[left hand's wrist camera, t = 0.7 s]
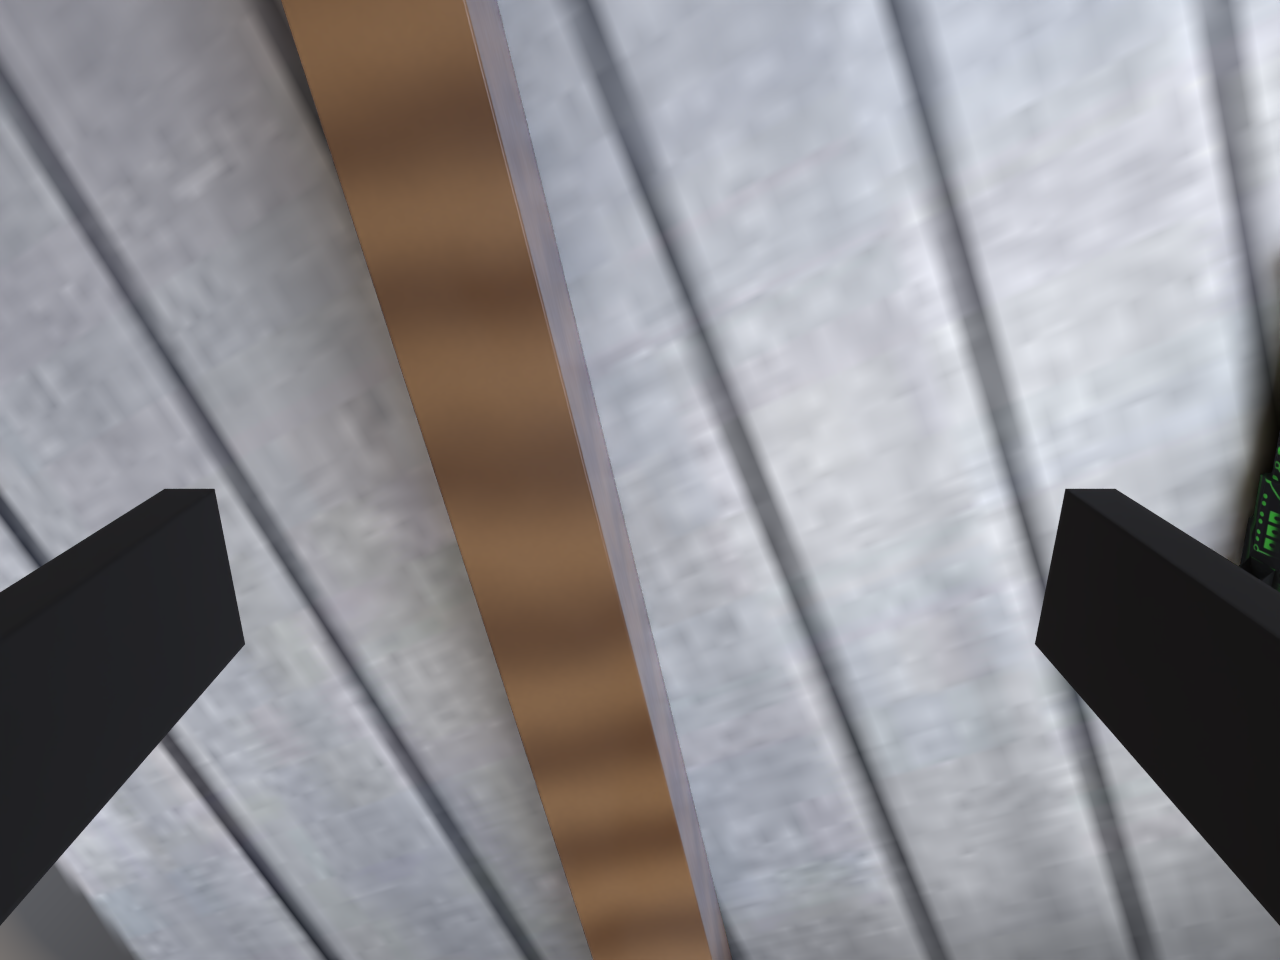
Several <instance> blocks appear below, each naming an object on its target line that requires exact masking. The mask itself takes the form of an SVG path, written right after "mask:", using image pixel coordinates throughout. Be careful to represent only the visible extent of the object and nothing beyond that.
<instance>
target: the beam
mask: <svg viewBox="0 0 1280 960" xmlns="http://www.w3.org/2000/svg"><path fill="white" fill-rule="evenodd" d="M281 2H282V5H283V8H284V11H285V14H286V17H287V20H288V23H289V27H290V30H291V33H292V36H293V39H294V42H295V45H296V48H297V51H298V54H299V57H300V60H301V63H302V67H303V70H304V73H305V76H306V79H307V82H308V85H309V88H310V91H311V94H312V97H313V100H314V103H315V106H316V110H317V113H318V116H319V119H320V122H321V125H322V128H323V131H324V134H325V137H326V140H327V143H328V146H329V149H330V153H331V156H332V159H333V162H334V165H335V168H336V171H337V174H338V177H339V180H340V183H341V186H342V189H343V193H344V196H345V199H346V202H347V205H348V208H349V211H350V214H351V217H352V220H353V223H354V226H355V229H356V232H357V236H358V239H359V242H360V245H361V248H362V251H363V254H364V257H365V260H366V263H367V266H368V269H369V272H370V275H371V279H372V282H373V285H374V288H375V291H376V294H377V297H378V300H379V303H380V306H381V309H382V312H383V315H384V319H385V322H386V325H387V328H388V331H389V334H390V337H391V340H392V343H393V346H394V349H395V352H396V355H397V358H398V362H399V365H400V368H401V371H402V374H403V377H404V380H405V383H406V386H407V389H408V392H409V395H410V398H411V401H412V405H413V408H414V411H415V414H416V417H417V420H418V423H419V426H420V429H421V432H422V435H423V438H424V441H425V444H426V448H427V451H428V454H429V457H430V460H431V463H432V466H433V469H434V472H435V475H436V478H437V481H438V484H439V488H440V491H441V494H442V497H443V500H444V503H445V506H446V509H447V512H448V515H449V518H450V521H451V524H452V527H453V531H454V534H455V537H456V540H457V543H458V546H459V549H460V552H461V555H462V558H463V561H464V564H465V567H466V570H467V574H468V577H469V580H470V583H471V586H472V589H473V592H474V595H475V598H476V601H477V604H478V607H479V610H480V614H481V617H482V620H483V623H484V626H485V629H486V632H487V635H488V638H489V641H490V644H491V647H492V650H493V653H494V657H495V660H496V663H497V666H498V669H499V672H500V675H501V678H502V681H503V684H504V687H505V690H506V693H507V696H508V700H509V703H510V706H511V709H512V712H513V715H514V718H515V721H516V724H517V727H518V730H519V733H520V736H521V740H522V743H523V746H524V749H525V752H526V755H527V758H528V761H529V764H530V767H531V770H532V773H533V776H534V779H535V783H536V786H537V789H538V792H539V795H540V798H541V801H542V804H543V807H544V810H545V813H546V816H547V819H548V822H549V826H550V829H551V832H552V835H553V838H554V841H555V844H556V847H557V850H558V853H559V856H560V859H561V862H562V866H563V869H564V872H565V875H566V878H567V881H568V884H569V887H570V890H571V893H572V896H573V899H574V902H575V905H576V909H577V912H578V915H579V918H580V921H581V924H582V927H583V930H584V933H585V936H586V939H587V942H588V945H589V948H590V952H591V955H592V958H593V960H732V957H731V953H730V949H729V945H728V941H727V936H726V932H725V928H724V924H723V920H722V916H721V912H720V908H719V904H718V900H717V896H716V892H715V888H714V884H713V879H712V875H711V871H710V867H709V863H708V859H707V855H706V851H705V847H704V843H703V839H702V835H701V831H700V826H699V822H698V818H697V814H696V810H695V806H694V802H693V798H692V794H691V790H690V786H689V782H688V778H687V773H686V769H685V765H684V761H683V757H682V753H681V749H680V745H679V741H678V737H677V733H676V729H675V725H674V720H673V716H672V712H671V708H670V704H669V700H668V696H667V692H666V688H665V684H664V680H663V676H662V672H661V667H660V663H659V659H658V655H657V651H656V647H655V643H654V639H653V635H652V631H651V627H650V623H649V619H648V614H647V610H646V606H645V602H644V598H643V594H642V590H641V586H640V582H639V578H638V574H637V570H636V566H635V562H634V557H633V553H632V549H631V545H630V541H629V537H628V533H627V529H626V525H625V521H624V517H623V513H622V509H621V504H620V500H619V496H618V492H617V488H616V484H615V480H614V476H613V472H612V468H611V464H610V460H609V456H608V451H607V447H606V443H605V439H604V435H603V431H602V427H601V423H600V419H599V415H598V411H597V407H596V403H595V398H594V394H593V390H592V386H591V382H590V378H589V374H588V370H587V366H586V362H585V358H584V354H583V350H582V345H581V341H580V337H579V333H578V329H577V325H576V321H575V317H574V313H573V309H572V305H571V301H570V297H569V293H568V288H567V284H566V280H565V276H564V272H563V268H562V264H561V260H560V256H559V252H558V248H557V244H556V240H555V235H554V231H553V227H552V223H551V219H550V215H549V211H548V207H547V203H546V199H545V195H544V191H543V187H542V182H541V178H540V174H539V170H538V166H537V162H536V158H535V154H534V150H533V146H532V142H531V138H530V134H529V129H528V125H527V121H526V117H525V113H524V109H523V105H522V101H521V97H520V93H519V89H518V85H517V81H516V76H515V72H514V68H513V64H512V60H511V56H510V52H509V48H508V44H507V40H506V36H505V32H504V28H503V23H502V19H501V15H500V11H499V7H498V3H497V0H281Z"/></svg>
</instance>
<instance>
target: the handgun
mask: <svg viewBox="0 0 1280 960" xmlns="http://www.w3.org/2000/svg"><path fill="white" fill-rule="evenodd" d="M1239 567H1240V568H1242V569H1243V570H1245V571H1247V572H1248V573H1250V574H1251V575H1253V576H1254V577H1256V578H1258V579H1259V580H1261V581H1262V582H1264V583H1266V584H1267V585H1269V586H1270V587H1272V588H1274V589H1275V590H1277V591H1278V592H1280V432H1279V438H1278V443H1277V449H1276V454H1275V460H1274V465H1273V471H1272V473H1266V474H1261V476H1260V482H1259V488H1258V493H1257V499H1256V505H1255V511H1254V516H1252V517H1250V518H1249V521H1248V526H1247V532H1246V537H1245V543H1244V548H1243V553H1242V559H1241V564H1240V565H1239Z"/></svg>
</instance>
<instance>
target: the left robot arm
mask: <svg viewBox="0 0 1280 960" xmlns="http://www.w3.org/2000/svg"><path fill="white" fill-rule="evenodd" d="M244 645H245V641H244V636H243V631H242V626H241V621H240V616H239V611H238V606H237V601H236V596H235V591H234V586H233V581H232V575H231V570H230V565H229V560H228V555H227V550H226V545H225V540H224V535H223V530H222V525H221V520H220V514H219V509H218V504H217V499H216V494H215V489H164V490H162V491H161V492H159V493H157V494H156V495H154V496H153V497H151V498H150V499H148V500H146V501H145V502H143V503H142V504H140V505H138V506H137V507H135V508H134V509H132V510H130V511H129V512H127V513H126V514H124V515H123V516H121V517H119V518H118V519H116V520H115V521H113V522H111V523H110V524H108V525H107V526H105V527H103V528H102V529H100V530H99V531H97V532H95V533H94V534H92V535H91V536H89V537H88V538H86V539H84V540H83V541H81V542H80V543H78V544H76V545H75V546H73V547H72V548H70V549H68V550H67V551H65V552H64V553H62V554H61V555H59V556H57V557H56V558H54V559H53V560H51V561H49V562H48V563H46V564H45V565H43V566H41V567H40V568H38V569H37V570H35V571H33V572H32V573H30V574H29V575H27V576H26V577H24V578H22V579H21V580H19V581H18V582H16V583H14V584H13V585H11V586H10V587H8V588H6V589H5V590H3V591H2V592H0V925H1V924H2V923H3V922H4V921H5V919H6V918H7V917H8V916H9V915H10V914H11V913H12V911H13V910H14V909H15V908H16V907H17V906H18V905H19V903H20V902H21V901H22V900H23V899H24V898H25V896H26V895H27V894H28V893H29V892H30V891H31V890H32V888H33V887H34V886H35V885H36V884H37V883H38V881H39V880H40V879H41V878H42V877H43V876H44V875H45V874H46V872H47V871H48V870H49V869H50V868H51V867H52V865H53V864H54V863H55V862H56V861H57V860H58V859H59V857H60V856H61V855H62V854H63V853H64V852H65V851H66V849H67V848H68V847H69V846H70V845H71V844H72V842H73V841H74V840H75V839H76V838H77V837H78V836H79V834H80V833H81V832H82V831H83V830H84V829H85V828H86V826H87V825H88V824H89V823H90V822H91V821H92V819H93V818H94V817H95V816H96V815H97V814H98V813H99V811H100V810H101V809H102V808H103V807H104V806H105V805H106V803H107V802H108V801H109V800H110V799H111V798H112V796H113V795H114V794H115V793H116V792H117V791H118V790H119V788H120V787H121V786H122V785H123V784H124V783H125V782H126V780H127V779H128V778H129V777H130V776H131V775H132V773H133V772H134V771H135V770H136V769H137V768H138V767H139V765H140V764H141V763H142V762H143V761H144V760H145V759H146V757H147V756H148V755H149V754H150V753H151V752H152V750H153V749H154V748H155V747H156V746H157V745H158V744H159V742H160V741H161V740H162V739H163V738H164V737H165V736H166V734H167V733H168V732H169V731H170V730H171V729H172V727H173V726H174V725H175V724H176V723H177V722H178V721H179V719H180V718H181V717H182V716H183V715H184V714H185V713H186V711H187V710H188V709H189V708H190V707H191V706H192V704H193V703H194V702H195V701H196V700H197V699H198V698H199V696H200V695H201V694H202V693H203V692H204V691H205V690H206V688H207V687H208V686H209V685H210V684H211V683H212V681H213V680H214V679H215V678H216V677H217V676H218V675H219V673H220V672H221V671H222V670H223V669H224V668H225V667H226V665H227V664H228V663H229V662H230V661H231V660H232V659H233V657H234V656H235V655H236V654H237V653H238V652H239V650H240V649H241V648H242V647H243V646H244ZM1035 645H1036V646H1037V647H1038V648H1039V649H1040V650H1041V652H1042V653H1043V654H1044V655H1045V656H1046V657H1047V659H1048V660H1049V661H1050V662H1051V663H1052V664H1053V665H1054V667H1055V668H1056V669H1057V670H1058V671H1059V672H1060V673H1061V675H1062V676H1063V677H1064V678H1065V679H1066V680H1067V681H1068V683H1069V684H1070V685H1071V686H1072V687H1073V688H1074V690H1075V691H1076V692H1077V693H1078V694H1079V695H1080V696H1081V698H1082V699H1083V700H1084V701H1085V702H1086V703H1087V704H1088V706H1089V707H1090V708H1091V709H1092V710H1093V711H1094V713H1095V714H1096V715H1097V716H1098V717H1099V718H1100V719H1101V721H1102V722H1103V723H1104V724H1105V725H1106V726H1107V727H1108V729H1109V730H1110V731H1111V732H1112V733H1113V734H1114V736H1115V737H1116V738H1117V739H1118V740H1119V741H1120V742H1121V744H1122V745H1123V746H1124V747H1125V748H1126V749H1127V750H1128V752H1129V753H1130V754H1131V755H1132V756H1133V757H1134V759H1135V760H1136V761H1137V762H1138V763H1139V764H1140V765H1141V767H1142V768H1143V769H1144V770H1145V771H1146V772H1147V773H1148V775H1149V776H1150V777H1151V778H1152V779H1153V780H1154V782H1155V783H1156V784H1157V785H1158V786H1159V787H1160V788H1161V790H1162V791H1163V792H1164V793H1165V794H1166V795H1167V796H1168V798H1169V799H1170V800H1171V801H1172V802H1173V803H1174V805H1175V806H1176V807H1177V808H1178V809H1179V810H1180V811H1181V813H1182V814H1183V815H1184V816H1185V817H1186V818H1187V819H1188V821H1189V822H1190V823H1191V824H1192V825H1193V826H1194V828H1195V829H1196V830H1197V831H1198V832H1199V833H1200V834H1201V836H1202V837H1203V838H1204V839H1205V840H1206V841H1207V842H1208V844H1209V845H1210V846H1211V847H1212V848H1213V849H1214V851H1215V852H1216V853H1217V854H1218V855H1219V856H1220V857H1221V859H1222V860H1223V861H1224V862H1225V863H1226V864H1227V865H1228V867H1229V868H1230V869H1231V870H1232V871H1233V872H1234V874H1235V875H1236V876H1237V877H1238V878H1239V879H1240V880H1241V882H1242V883H1243V884H1244V885H1245V886H1246V887H1247V888H1248V890H1249V891H1250V892H1251V893H1252V894H1253V895H1254V897H1255V898H1256V899H1257V900H1258V901H1259V902H1260V903H1261V905H1262V906H1263V907H1264V908H1265V909H1266V910H1267V911H1268V913H1269V914H1270V915H1271V916H1272V917H1273V918H1274V920H1275V921H1276V922H1277V923H1278V924H1279V925H1280V592H1278V591H1277V590H1275V589H1274V588H1272V587H1270V586H1269V585H1267V584H1266V583H1264V582H1262V581H1261V580H1259V579H1258V578H1256V577H1254V576H1253V575H1251V574H1250V573H1248V572H1247V571H1245V570H1243V569H1242V568H1240V567H1239V566H1237V565H1235V564H1234V563H1232V562H1231V561H1229V560H1227V559H1226V558H1224V557H1223V556H1221V555H1219V554H1218V553H1216V552H1215V551H1213V550H1212V549H1210V548H1208V547H1207V546H1205V545H1204V544H1202V543H1200V542H1199V541H1197V540H1196V539H1194V538H1192V537H1191V536H1189V535H1188V534H1186V533H1185V532H1183V531H1181V530H1180V529H1178V528H1177V527H1175V526H1173V525H1172V524H1170V523H1169V522H1167V521H1165V520H1164V519H1162V518H1161V517H1159V516H1157V515H1156V514H1154V513H1153V512H1151V511H1150V510H1148V509H1146V508H1145V507H1143V506H1142V505H1140V504H1138V503H1137V502H1135V501H1134V500H1132V499H1130V498H1129V497H1127V496H1126V495H1124V494H1123V493H1121V492H1119V491H1118V490H1116V489H1065V494H1064V499H1063V504H1062V509H1061V514H1060V520H1059V525H1058V530H1057V535H1056V540H1055V545H1054V550H1053V555H1052V560H1051V565H1050V570H1049V575H1048V580H1047V586H1046V591H1045V596H1044V601H1043V606H1042V611H1041V616H1040V621H1039V626H1038V631H1037V636H1036V641H1035Z"/></svg>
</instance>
